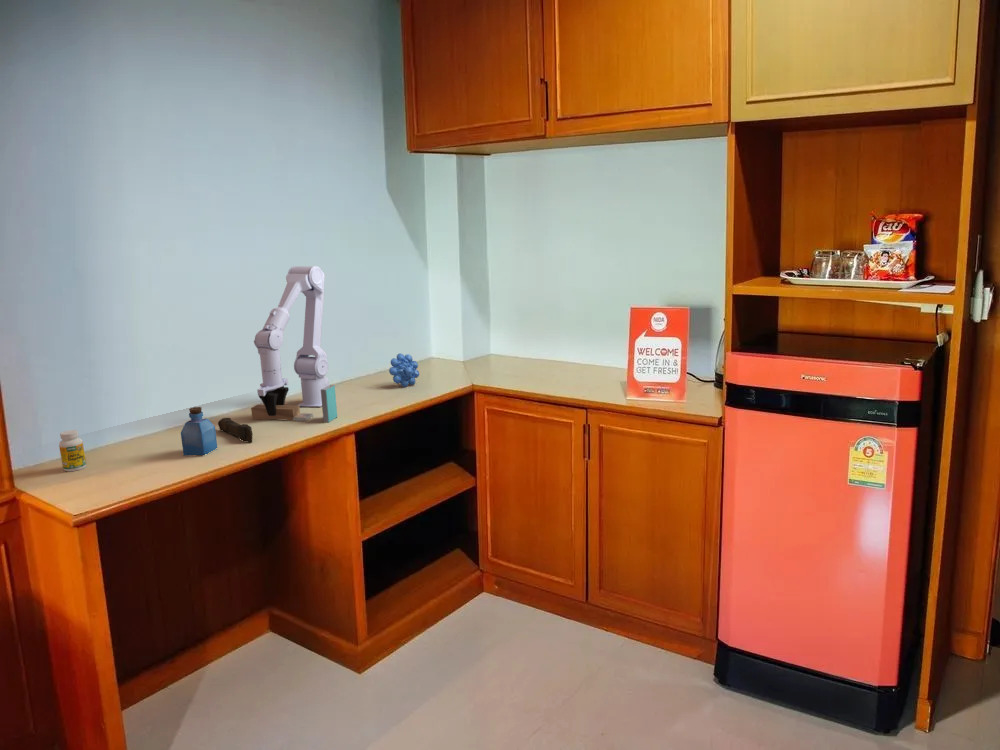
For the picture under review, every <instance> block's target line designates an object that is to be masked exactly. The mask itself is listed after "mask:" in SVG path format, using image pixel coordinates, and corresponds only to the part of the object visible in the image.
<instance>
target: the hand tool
mask: <svg viewBox="0 0 1000 750" xmlns="http://www.w3.org/2000/svg"><path fill="white" fill-rule="evenodd" d="M217 425H218V427H219V430H220V431H221V430H223V431H224V432H227V433H229V434H230V435H233V436H235V437H237V438H238V439H239V440H240V439H241V440H243V441H242V442H244V441H248V442H247V443H253V431H252V430H253V429H252V427H251V426H250V425H248V424H247V423H246V424H245V423H243V424H241V423H238V422H236V421H234V420H232V419H231V418H230V417H223V418H221V419H220V420H219V421H218V422H217ZM223 431H222V432H223ZM241 440H240V441H241Z"/></svg>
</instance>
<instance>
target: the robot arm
mask: <svg viewBox="0 0 1000 750" xmlns="http://www.w3.org/2000/svg"><path fill="white" fill-rule="evenodd" d="M325 276H326V275H325V273H324V271H322V268H320V267H319V266H318V265H313V266H300V265H299V266H298V265H293V266H292V265H291V267H290V268H289V269H288V271H287V273H286V276H285V279H286V282H287V283H286V286H285V288H284V291H283V293H282V296H281V298H280V300H279V302H278V306H277V307H275V308H272V309H271V310H270V312H269V316H268V317H267V319H266V321H265V323H264V326H263V327H262V329H260V330H259V331H258V332H257V333H256V334H255V336H254V340H253V343H254V346H255V347H256V349H257V353H258V355H259V359H260V367H261V377H262V382H261V383H260V384H259V385H260V386H259V388H258V389H256V391H257V396H258V397H259V398H260V400H261V402H262V404H263V405H265V408H266V410H267V413H268V415H269V416H275V415H276V405H285V402H286V397H287V395H288V393H289V391H290V389H289V386H288V385H289V378H283V372H282V363H281V353H280V351H281V350H280V348H281V347H282V345H283V343H284V331H285V329H286V327H287V325H288V323H289V320H290V318H291V316H290V313H289V312H290V310H291V309H292V307H293V305H294V304H295V301H296V300H297V298H298V296H299V295H300V293H302V294H303V296H305V308H304V309H305V310H304V322H303V323H304V324H303V325H304V326H303V339H302V340H303V342H302V346H301V348H299V349H298V350H297V352H296V357H295V359H294V362H293V371H294V372H295V373H296V375H298V378H300V385H301V386H300V387H301V396H302V397H301V398H302V402H300V403H299V404H297V406H299V407H302V408H303V407H305V408H306V407H313V408H322V399H321V389H323V388H325V387H327V386H329V385H330V381H329V378H328V377H327V376H326V374H327V373H328V370H329V362H328V354H327V353H326V352H325V350H324V349H322V347H321V345H322V344H321V343H322V327H323V312H324V311H323V310H324V299H325V297H324V296H325V292H324V291H325V289H324V288H325Z"/></svg>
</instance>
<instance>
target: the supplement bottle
mask: <svg viewBox="0 0 1000 750" xmlns="http://www.w3.org/2000/svg"><path fill="white" fill-rule="evenodd" d="M59 435H60V439H61V440H60V442H59V445H58V447H59V453H60V458H61V459H60V460H61V463H62V470H63V471H65V472H77V471H80V470H84V469H85V468H86V467H87V460H86V454H85V448H84V443H83V439H81V438H80V437H79V431H78V430H76V429H70V430H65V431H62V432H60V433H59Z"/></svg>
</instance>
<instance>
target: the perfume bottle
mask: <svg viewBox="0 0 1000 750" xmlns="http://www.w3.org/2000/svg"><path fill="white" fill-rule="evenodd" d="M202 408H203V407H202V406H193V407H190V408H189V409H188V410H189V413H188V417H189V418H190V420H188V421H186V422H185V423H184V425H183V427H182V429H181V432H180V439H181V446H182V453H183V456H189V455H205V454H207V455H209V454H210V453H209V452H211V451H213V450H215V449H216V448H218V441H217V433H216V426H215V425H214V424H213V423H212V422H211V420H209V418H203V416H204V413H203V411H202ZM216 450H217V449H216ZM216 450H215V451H216ZM213 452H214V451H213ZM208 453H209V454H208ZM211 453H212V452H211Z"/></svg>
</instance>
